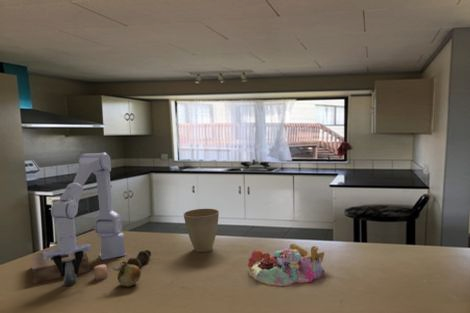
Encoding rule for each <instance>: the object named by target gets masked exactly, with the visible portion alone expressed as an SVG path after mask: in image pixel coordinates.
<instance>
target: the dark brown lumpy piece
mask: <svg viewBox="0 0 470 313" xmlns="http://www.w3.org/2000/svg"><path fill="white" fill-rule="evenodd" d="M151 256H152V253H151V251H150V250H148V249H145V250H140V251H139V252H138V254H137V255H136V257H130V258H128V260H127V261H126V262H127V264H129V265H136V266H138V267H139V269H140V270H141V267H142V266H143V265H142V264H146V263H148V262H149V260H150V258H151Z"/></svg>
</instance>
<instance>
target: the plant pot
mask: <svg viewBox="0 0 470 313" xmlns="http://www.w3.org/2000/svg"><path fill="white" fill-rule="evenodd" d="M219 212H220V211H219V210H218V209H216V208H196V209H192V210H191V209H190V210H187V211H185V212H184V213H183V218H184V219H183V220H184V223H185V227H186V231H187V233H188V237H189V239H190V242H191V244H192V248H193V249H194V251H195V252H198V253H205V252H210V251H212V250H213V246H214V245H215V240H216V235H217V230H218V226H219V225H218V224H219V214H220V213H219Z"/></svg>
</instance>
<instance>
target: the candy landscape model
mask: <svg viewBox="0 0 470 313" xmlns="http://www.w3.org/2000/svg"><path fill="white" fill-rule="evenodd" d="M318 250H319V247H318V246H315V245H313V246H311V247H310V252H309V251H308V250H306V249H305V248H303V247H302V246H300V245H299V244H297V243H291V244H290V245H289V247H288V246H287V247H286V248H283V249H282V250H276V251H275V252H274V253H273V256H271V254H270V253H269V252H268V251H265V252H262V250H260V249H253V251H252V252H251V256H249V258H248V263H247V266H248V274H249V275H250V277H252V278H253V279H255V281H258V282H260V284H261V283H262V284H265V285H267V286H268V285H269V286H277V287H285V286H286V287H287V286H291V285H292V284H295V283H300V284H301V283H312V282H313V281H314V280H317V279H318V280H319V279H320V278H321V276H322V274H323V272H324V270H325V268H324V267H323V266H322V262H323V260H324V256H325V252H324V251H321V252H318ZM258 262H259V263H258Z"/></svg>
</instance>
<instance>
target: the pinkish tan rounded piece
mask: <svg viewBox="0 0 470 313" xmlns="http://www.w3.org/2000/svg"><path fill="white" fill-rule="evenodd" d="M107 267H108V266H107V265H106V264H98V265H96V266H94V277H95V280H96V281H102V280H105V279H107V278H108V276H109V275H108V268H107Z"/></svg>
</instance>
